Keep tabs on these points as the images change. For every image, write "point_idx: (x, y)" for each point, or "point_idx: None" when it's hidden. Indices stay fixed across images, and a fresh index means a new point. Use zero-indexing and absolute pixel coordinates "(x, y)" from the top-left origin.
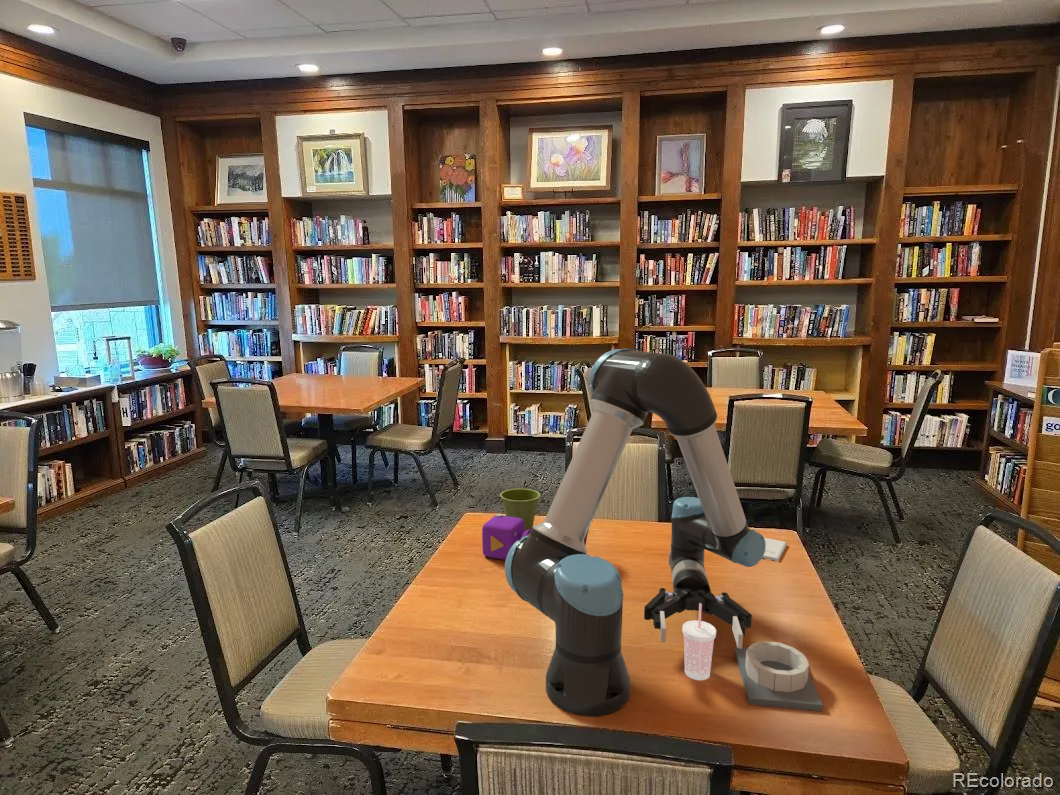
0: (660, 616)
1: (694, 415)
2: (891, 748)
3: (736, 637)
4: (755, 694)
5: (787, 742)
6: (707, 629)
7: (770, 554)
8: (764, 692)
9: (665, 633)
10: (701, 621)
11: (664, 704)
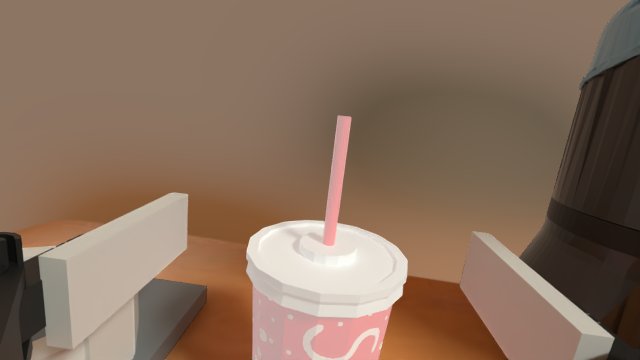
0: (557, 292)
1: None
2: (38, 225)
3: (166, 243)
4: (182, 292)
5: (200, 243)
6: (288, 248)
7: None
8: (149, 297)
9: (468, 250)
10: (300, 284)
11: (405, 312)
